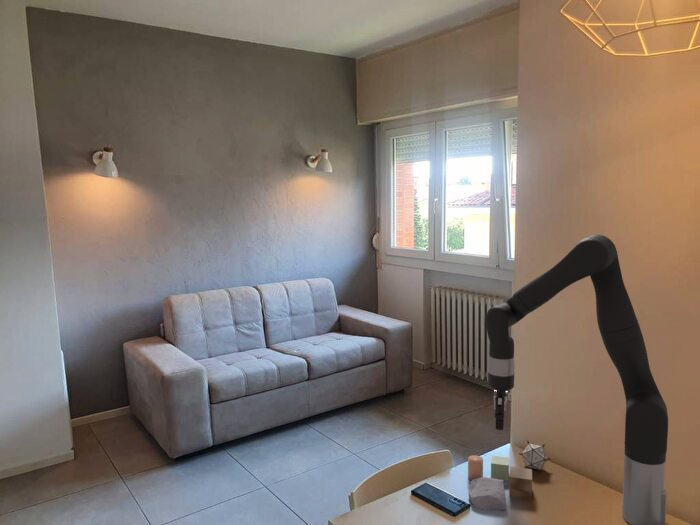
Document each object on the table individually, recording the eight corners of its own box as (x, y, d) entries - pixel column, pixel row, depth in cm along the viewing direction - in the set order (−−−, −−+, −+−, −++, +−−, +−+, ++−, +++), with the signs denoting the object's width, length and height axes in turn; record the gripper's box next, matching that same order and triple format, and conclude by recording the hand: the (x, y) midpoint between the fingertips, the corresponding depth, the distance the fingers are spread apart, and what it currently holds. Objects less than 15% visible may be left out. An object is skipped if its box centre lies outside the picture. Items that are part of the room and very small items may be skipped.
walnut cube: (531, 488, 154) (531, 469, 153) (531, 500, 148) (532, 479, 148) (509, 486, 156) (510, 466, 155) (509, 497, 150) (509, 477, 149)
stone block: (471, 515, 145) (509, 511, 143) (468, 498, 145) (505, 494, 143) (470, 493, 157) (505, 489, 155) (467, 477, 157) (501, 473, 155)
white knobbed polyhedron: (539, 478, 166) (559, 454, 165) (533, 481, 159) (554, 455, 158) (516, 457, 171) (535, 433, 170) (509, 458, 164) (529, 433, 163)
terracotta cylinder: (483, 475, 162) (483, 456, 161) (482, 482, 158) (482, 463, 157) (468, 473, 163) (468, 454, 163) (467, 480, 159) (467, 461, 159)
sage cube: (508, 473, 163) (508, 457, 162) (508, 481, 158) (508, 465, 158) (491, 470, 165) (491, 455, 164) (490, 479, 160) (491, 463, 159)
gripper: (514, 380, 149) (512, 435, 151) (514, 364, 163) (513, 415, 165) (486, 377, 151) (485, 432, 153) (489, 362, 165) (488, 412, 167)
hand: (500, 423), depth 159 cm, fingers open, 8 cm apart
